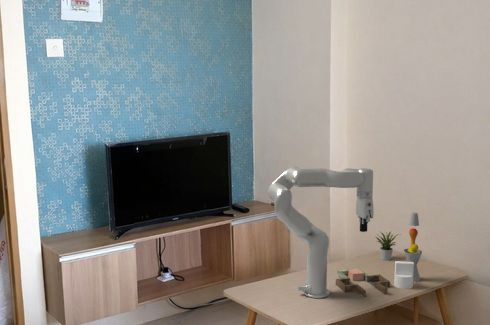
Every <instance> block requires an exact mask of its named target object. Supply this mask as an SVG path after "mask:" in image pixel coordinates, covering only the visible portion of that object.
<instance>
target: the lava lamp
mask: <svg viewBox="0 0 490 325" xmlns="http://www.w3.org/2000/svg"><path fill="white" fill-rule="evenodd" d="M419 222H420V221H419V214H418V212H411V214H410V218H409V222H408V223H409V224H408V225H409V226H413V228H410V229H409V230H408V234H409V237H410V244H409V247H408V248H404V249H403V252H404V253H403V254H404V255H405V256H404V257H405V259H406V262H413V263H414V270H413V283H418V282H420V281H421V276H420V273H419V270H418V263H419V261H420V258H421V256H422V253H423V251H422V250H421V249H419V246H418V244H416V239H417V237H418V235H419V234H418V232H419V231H418V229H416V228H414V227H419V226H420V223H419Z"/></svg>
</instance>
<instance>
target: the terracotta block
mask: <svg viewBox="0 0 490 325" xmlns="http://www.w3.org/2000/svg"><path fill="white" fill-rule="evenodd" d="M355 269H356V270H351V269H347V270H348V276H347V277H349V278H350V281H352V282H358V281H365V280H364V273H363V272H364V271H363V270H362V271H363V272H362V271H361V268H355Z"/></svg>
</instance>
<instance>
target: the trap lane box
mask: <svg viewBox="0 0 490 325" xmlns="http://www.w3.org/2000/svg"><path fill="white" fill-rule="evenodd" d="M356 269H357V268H354V269H353V268H351V269H350V270H356ZM348 270H349V269H343V270H337V278H336V279H335V286H337V287H338V288H339V289H341V291H343V292H344V293H351V292H356V293H358V294H359V295H360V296H362V297H363V298H365V297H367V290H366V289H364V288H363V287H362V286H361V285H359V284H358V283H354V284H351V279H350V278H349V277H348ZM360 270H361V269H360ZM361 271H362V272H363V273H364V280H363V281H365V282H367V283H369V284H370V285H371V286H372V287H374V288H375V289H376V290H378V291H379V292H381V293H382V294H383V295H388V288H390V287H391V281H390V280H389V279H387V278H386V277H384V276H383V275H381V274H380V273H379V274H372V275H370V274H367V273H366V272H364V271H363V270H361Z"/></svg>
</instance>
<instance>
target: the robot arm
mask: <svg viewBox="0 0 490 325" xmlns="http://www.w3.org/2000/svg"><path fill="white" fill-rule="evenodd" d="M293 187H298V188H316V187H317V188H321V187H322V188H323V187H324V188H340V189H341V188H342V189H349V188H350V189H353V188H356V201H355V215H357V218H358V219H359V232H361V233H364V232H365V233H366V232H368V225H369V222H371V219H374V217H375V216H374V213H375V211H374V200H373V191H374V189H373V188H374V170H373V169H371V168H367V167H366V168H364V167H363V168H362V167H361V168H359V169H358V168H344V169H342V170H341V171H336V170H332V169H329V168H300V167H298V166H291V167H288V169H286V170H284V172H283V173H281V174H280V175H279V177H277V178H276V179H275V180H274V181H273V182H272V183H271V184H270V185H269V187H268V189H267V195H268V197H269V199H271V201H274V213H275V216H276V217H277V219H279V221H281V222H282V223H283V224H284V225H285V226H286V228H287V230H289V232H292V234H294V236H296V237H297V238H298V239H300V240H301V241H302V242H303V243H304V244H306V245H307V246H308V251H307V255H306V282H305V283H304V285H303V286H297V287H296V290H297V291H301V292H302V293H303V294H304V296H306V297H309V298H313V299H323V298H326V297H329V296H330V294H331V291H330V290H329V289H328V286H327V284H328V283H327V280H328V251H329V246H330V239H329V236H328V234H327V233H326V232H325V231H323V230H322V229H320V228H319V227H317V226H315V224H313V223H312V222H311V221H310V220H309V219H308V217H307V216H305V215H304V214H302V213H300V211H298V210H297V209H296V208H295V207H293V204H292V202H293V201H292V200H293V199H292V198H293V194H292V191H291V189H292V188H293Z"/></svg>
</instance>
